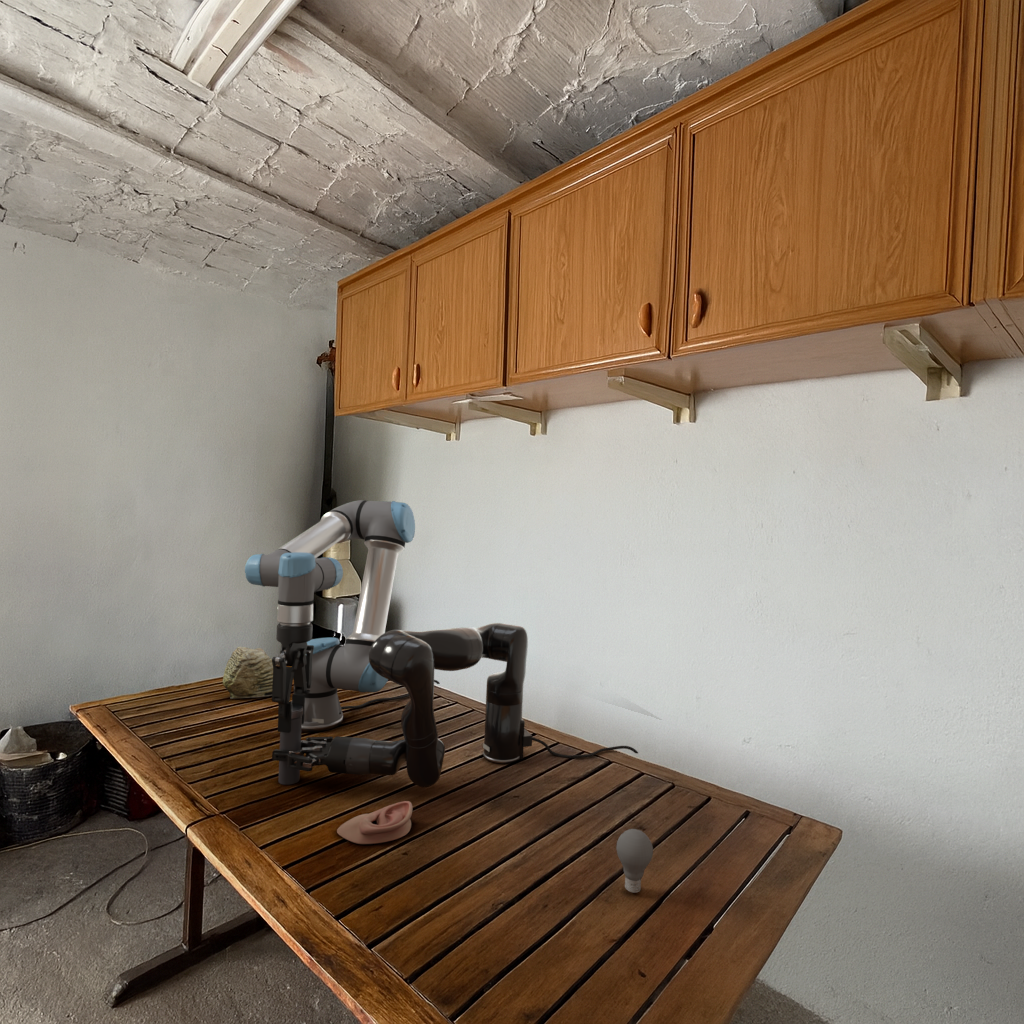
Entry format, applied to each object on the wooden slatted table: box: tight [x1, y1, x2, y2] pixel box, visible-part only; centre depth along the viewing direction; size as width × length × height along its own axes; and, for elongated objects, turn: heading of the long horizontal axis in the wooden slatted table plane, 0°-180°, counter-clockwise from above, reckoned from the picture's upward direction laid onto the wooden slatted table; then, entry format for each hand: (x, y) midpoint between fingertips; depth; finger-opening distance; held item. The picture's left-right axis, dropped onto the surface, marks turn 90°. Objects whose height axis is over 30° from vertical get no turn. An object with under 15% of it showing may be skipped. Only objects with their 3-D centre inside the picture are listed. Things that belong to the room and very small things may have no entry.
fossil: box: [222, 646, 273, 699], centre depth 198 cm, size 9×18×15 cm, turn 132°
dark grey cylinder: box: [277, 716, 302, 786], centre depth 141 cm, size 4×4×16 cm
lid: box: [291, 704, 303, 719], centre depth 140 cm, size 5×5×2 cm
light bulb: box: [615, 828, 654, 894], centre depth 106 cm, size 6×6×10 cm
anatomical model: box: [336, 800, 414, 845], centre depth 121 cm, size 13×4×12 cm
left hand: (291, 727), depth 140 cm, fingers closed on lid, 5 cm apart
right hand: (278, 750), depth 141 cm, fingers closed on dark grey cylinder, 4 cm apart
